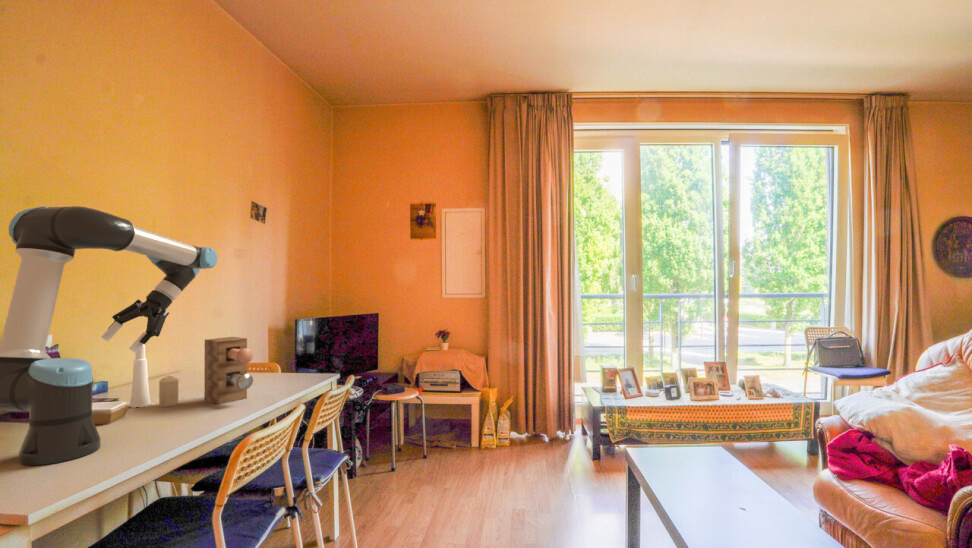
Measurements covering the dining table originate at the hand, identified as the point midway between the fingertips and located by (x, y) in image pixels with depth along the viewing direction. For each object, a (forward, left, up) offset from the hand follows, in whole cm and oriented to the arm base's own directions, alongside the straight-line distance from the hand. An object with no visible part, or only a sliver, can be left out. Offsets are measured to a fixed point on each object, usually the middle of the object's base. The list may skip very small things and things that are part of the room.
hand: (118, 345), depth 158 cm
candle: (-5, -14, -22) cm, 26 cm away
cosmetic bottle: (0, -6, -22) cm, 23 cm away
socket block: (-9, -31, -22) cm, 39 cm away
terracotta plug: (-16, -34, -7) cm, 38 cm away
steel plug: (-16, -34, -16) cm, 41 cm away
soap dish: (-14, +4, -22) cm, 26 cm away
